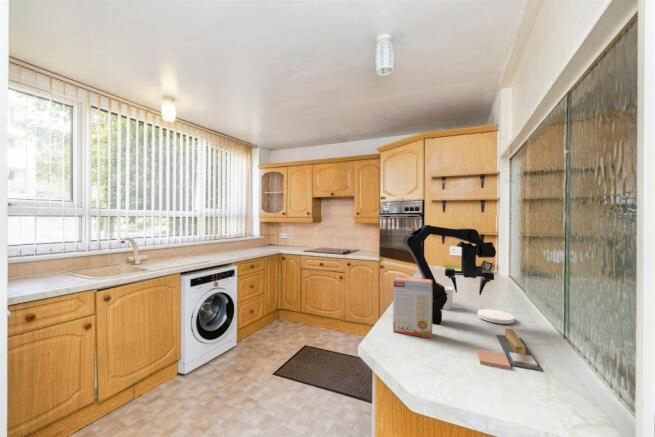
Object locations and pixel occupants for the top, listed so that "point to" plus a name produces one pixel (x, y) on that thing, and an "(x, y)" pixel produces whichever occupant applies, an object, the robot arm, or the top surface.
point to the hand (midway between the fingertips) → (467, 293)
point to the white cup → (448, 298)
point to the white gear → (496, 316)
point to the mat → (508, 349)
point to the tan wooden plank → (518, 349)
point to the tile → (493, 359)
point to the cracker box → (412, 306)
